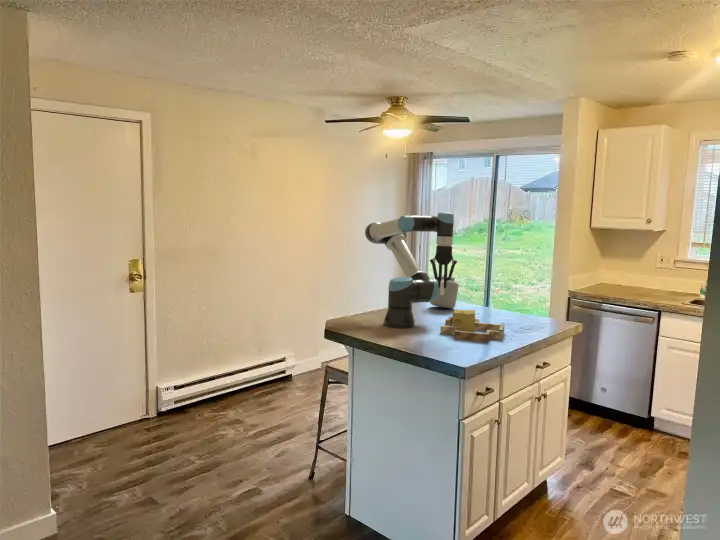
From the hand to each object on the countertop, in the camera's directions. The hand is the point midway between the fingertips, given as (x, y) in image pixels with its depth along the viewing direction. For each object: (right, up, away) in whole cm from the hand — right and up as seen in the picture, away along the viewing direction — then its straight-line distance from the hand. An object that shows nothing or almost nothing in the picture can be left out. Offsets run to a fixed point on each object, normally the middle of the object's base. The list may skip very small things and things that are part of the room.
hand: (441, 294), depth 256 cm
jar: (+10, -11, +56) cm, 58 cm away
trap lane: (+14, -18, -2) cm, 23 cm away
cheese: (+10, -18, -1) cm, 20 cm away
